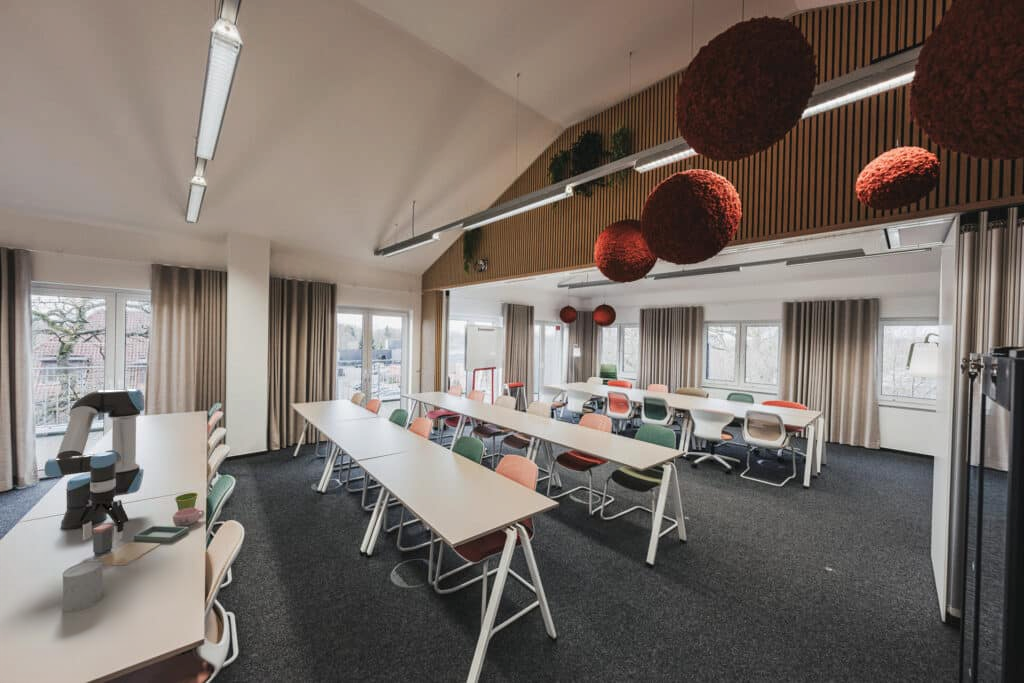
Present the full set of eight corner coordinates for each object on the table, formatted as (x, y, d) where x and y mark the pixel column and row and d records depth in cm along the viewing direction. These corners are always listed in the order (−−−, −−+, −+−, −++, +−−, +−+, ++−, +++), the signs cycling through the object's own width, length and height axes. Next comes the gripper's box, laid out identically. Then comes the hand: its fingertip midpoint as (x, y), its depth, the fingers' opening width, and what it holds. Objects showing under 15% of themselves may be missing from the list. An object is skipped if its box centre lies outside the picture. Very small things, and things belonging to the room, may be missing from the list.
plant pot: (184, 518, 197) (184, 501, 197) (169, 515, 199) (169, 499, 199) (202, 509, 206) (202, 493, 206) (188, 507, 208) (188, 491, 208)
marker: (92, 555, 164) (93, 529, 163) (103, 549, 168) (103, 524, 167) (102, 555, 163) (102, 529, 163) (112, 550, 168) (112, 524, 167)
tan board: (91, 564, 157) (91, 563, 157) (130, 542, 173) (130, 541, 173) (124, 565, 157) (124, 564, 157) (161, 544, 173) (161, 543, 173)
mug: (172, 530, 185) (172, 518, 184) (173, 522, 192) (173, 510, 192) (204, 523, 192) (204, 511, 192) (203, 515, 200) (203, 504, 200)
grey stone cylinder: (82, 593, 141) (82, 560, 140) (110, 592, 142) (110, 559, 141) (53, 612, 131) (53, 577, 131) (84, 611, 132) (84, 576, 132)
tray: (133, 541, 175) (133, 535, 175) (152, 530, 184) (153, 525, 184) (170, 542, 175) (170, 537, 174) (188, 532, 184) (188, 527, 184)
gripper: (64, 492, 161) (64, 542, 162) (122, 494, 161) (122, 544, 161) (84, 485, 169) (84, 533, 169) (140, 487, 168) (139, 535, 169)
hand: (102, 538), depth 165 cm, fingers open, 13 cm apart
